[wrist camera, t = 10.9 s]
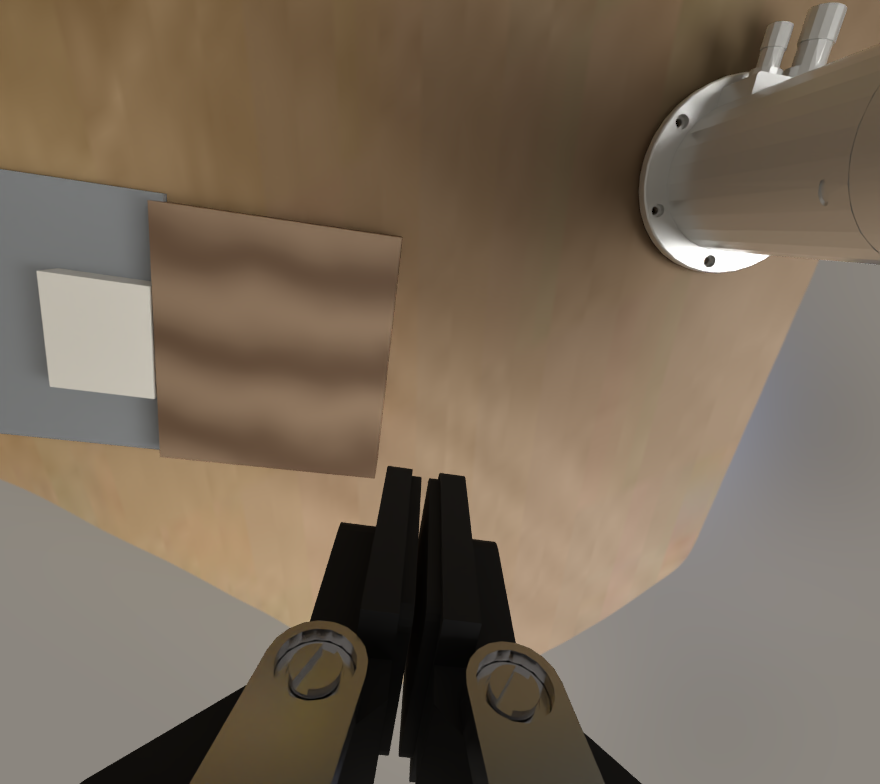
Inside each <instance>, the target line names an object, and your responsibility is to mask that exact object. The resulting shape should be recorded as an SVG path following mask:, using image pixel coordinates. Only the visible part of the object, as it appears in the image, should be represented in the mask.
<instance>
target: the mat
mask: <svg viewBox="0 0 880 784" xmlns="http://www.w3.org/2000/svg"><path fill="white" fill-rule="evenodd" d="M147 200H151V201H162V202H167V194H163V193H156V192H150V191H143V190H136V189H130V188H123V187H116V186H110V185H103V184H96V183H90V182H83V181H77V180H70V179H63V178H57V177H50V176H43V175H37V174H30V173H24V172H17V171H10V170H4V169H0V433H2V434H12V435H21V436H31V437H41V438H51V439H61V440H70V441H80V442H90V443H100V444H110V445H119V446H129V447H139V448H149V449H159V450H160V446H159V426H158V405H157V397H156V398H155V399H149V398H141V397H133V396H124V395H116V394H107V393H99V392H90V391H82V390H73V389H65V388H57V387H50V384H49V376H48V367H47V358H46V350H45V341H44V332H43V324H42V315H41V306H40V298H39V289H38V280H37V272H36V271H38V270H47V269H55V268H61V269H68V270H75V271H82V272H89V273H96V274H103V275H110V276H117V277H124V278H131V279H138V280H146V281H151V262H150V242H149V221H148V201H147Z"/></svg>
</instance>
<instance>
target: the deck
mask: <svg viewBox="0 0 880 784" xmlns="http://www.w3.org/2000/svg"><path fill="white" fill-rule="evenodd" d="M147 201H148V221H149V242H150V262H151V283H152V303H153V324H154V344H155V365H156V385H157V405H158V426H159V446H160V457H167V458H176V459H186V460H196V461H206V462H216V463H226V464H236V465H246V466H256V467H266V468H276V469H286V470H296V471H306V472H316V473H326V474H336V475H346V476H355V477H365V478H375V473H376V466H377V459H378V450H379V441H380V432H381V423H382V414H383V405H384V397H385V388H386V379H387V370H388V361H389V352H390V344H391V335H392V326H393V317H394V308H395V299H396V290H397V282H398V273H399V264H400V255H401V246H402V237H398V236H392V235H385V234H378V233H372V232H365V231H358V230H351V229H345V228H338V227H331V226H325V225H318V224H311V223H304V222H298V221H291V220H284V219H278V218H271V217H264V216H258V215H251V214H244V213H237V212H231V211H224V210H217V209H211V208H204V207H197V206H191V205H184V204H177V203H170V202H162V201H151V200H147Z"/></svg>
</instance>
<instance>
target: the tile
mask: <svg viewBox="0 0 880 784" xmlns="http://www.w3.org/2000/svg"><path fill="white" fill-rule="evenodd" d="M36 272H37V280H38V289H39V298H40V306H41V315H42V324H43V332H44V341H45V350H46V358H47V367H48V376H49V384H50V387H57V388H65V389H73V390H82V391H90V392H99V393H107V394H116V395H124V396H133V397H141V398H149V399H155V398H156V397H157V385H156V365H155V344H154V324H153V303H152V283H151V281H146V280H138V279H131V278H124V277H117V276H110V275H103V274H96V273H89V272H82V271H75V270H68V269H61V268H55V269H47V270H38V271H36Z"/></svg>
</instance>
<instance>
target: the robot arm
mask: <svg viewBox="0 0 880 784" xmlns="http://www.w3.org/2000/svg"><path fill="white" fill-rule="evenodd" d="M846 10H847V7H846V5H844V4H841V3H824V4H819V5H817V6H814V7H812V8H811V9H809V10H808V12H807V15H806V18H805V21H804V24H803V28H802V31H801V34H800V37H799V40H798V43H797V47H798V48H797V51H796V54H795V57H794V60H793V63H792V67H791V68H788V69H786V70H784V71H783V69H780V68H779V67H780V64H781V61H782V57H783V54H784V51H786V49H787V46H788V43H789V39H790V36H791V33H792V30H793V27H794V24H793V23H791V22H789V21H778V22H774V23H771V24H769V25H768V26H767V28H766V32H765V35H764V38H763V42H762V45H761V48H760V55H759V59H758V62H757V65H756V68H754V69H752V70H750V72H743V73H738V74H733V75H728V76H725V77H723V78H720V79H718V80H716V81H713V82H711V83H709V84H707V85H705V86H703V87H702V88H700V89H698V90H696V91H694V92H693V93H692V94H690V95H689V96H688V97H687V98H685V99H684V100H683V101H682V102H680V103H679V104H678V105H677V106H676V107H675V108H674V109H673V110H672V112H671V113H670V114H669V115H668V116H667V117H666V118H665V119H664V121H663V122H662V124H661V125H660V127H659V129H658V130H657V132H656V133H655V135H654V136H653V138H652V141H651V143H650V145H649V148H648V150H647V152H646V154H645V158H644V161H643V165H642V169H641V173H640V182H639V203H640V212H641V216H642V219H643V223H644V226H645V229H646V230H647V232H648V234H649V236H650V238H651V240H652V242H653V243H654V244H655V245H656V247H657V248H658V249H659V250H660V251H661V253H662V254H664V255H665V256H666V257H668V258H669V259H670V260H671V261H673V262H674V263H676V264H678V265H681V266H683V267H685V268H687V269H691V270H696V271H700V272H708V273H726V272H734V271H738V270H741V269H744V268H748V267H750V266H752V265H755V264H757V263H759V262H761V261H763V260H765V259H766V258H768V257H769V256H770V255H771V256H782V257H794V258H805V259H817V260H830V261H841V262H852V263H864V264H876V265H880V44H878V45H875V46H872V47H870V48H867V49H865V50H862V51H860V52H857V53H854V54H852V55H849V56H847V57H844V58H842V59H839V60H836V61H834V62H831V63H829V64H826V63H827V60H828V57H829V54H830V51H831V48H832V46H833V45H834V44H835V42H836V39H837V36H838V33H839V31H840V28H841V25H842V22H843V19H844V16H845V13H846ZM676 121H678V127H677V126H676ZM653 207H654V208H655V213H654V214H652V209H653ZM704 259H705V262H704ZM412 470H413V469H407V468H400V467H392V466H388V467H387V472H386V477H385V483H384V488H383V493H382V498H381V504H380V509H379V514H378V519H377V525H376V527H374V526H366V525H359V524H351V523H343V522H341V524H340V526H339V529H338V532H337V535H336V538H335V542H334V545H333V548H332V551H331V555H330V558H329V561H328V564H327V568H326V571H325V574H324V577H323V581H322V584H321V587H320V590H319V593H318V597H317V600H316V603H315V606H314V610H313V613H312V616H311V619H310V622H304V623H302V624H299V625H296V626H294V627H291V628H289V629H288V630H286V631H285V632H284V633H282V634H281V635H279V636H278V637H277V638H276V639H275V640H274V641H273V643H272V644H271V645H270V646H269V648H268V649H267V651H266V652H265V654H264V656H263V657H262V659H261V661H260V663H259V665H258V666H257V668H256V670H255V671H254V673H253V675H252V676H251V678H250V680H249V682H248V683H247V685H246V686H244V687H242V688H240V689H239V690H237V691H235V692H234V693H232V694H230V695H229V696H227V697H225V698H223V699H222V700H220V701H218V702H217V703H215V704H213V705H212V706H210V707H208V708H207V709H205V710H203V711H201V712H200V713H198V714H196V715H195V716H193V717H191V718H189V719H188V720H186V721H184V722H183V723H181V724H179V725H177V726H176V727H174V728H173V729H171V730H169V731H167V732H166V733H164V734H162V735H160V736H159V737H157V738H155V739H154V740H152V741H150V742H149V743H147V744H145V745H143V746H142V747H140V748H138V749H137V750H135V751H133V752H131V753H130V754H128V755H126V756H125V757H123V758H121V759H120V760H118V761H116V762H115V763H113V764H111V765H109V766H108V767H106V768H104V769H103V770H101V771H99V772H97V773H96V774H94V775H92V776H91V777H89V778H87V779H86V780H84V781H83V782H81V783H80V784H373V783H374V778H375V772H376V766H377V760H378V755H389V751H390V746H391V740H392V735H393V729H394V724H395V719H396V713H397V708H398V702H399V697H400V691H401V685H402V680H403V675H404V682H403V697H402V711H401V727H400V741H399V757H407V758H410V777H409V781H410V782H416V783H415V784H641V783H640V782H639V781H638V780H637V779H636V778H635V777H633V776H632V775H631V774H630V773H629V772H628V771H627V770H626V769H624V768H623V767H622V766H621V765H620V764H619V763H618V762H617V761H615V760H614V759H613V758H612V757H611V756H610V755H609V754H607V753H606V752H605V751H604V750H603V749H602V748H601V747H600V746H598V745H597V744H596V743H595V742H594V741H593V740H592V739H590V738H589V737H588V736H587V735H586V734H585V733H584V732H583V731H582V728H581V726H580V724H579V721H578V719H577V716H576V714H575V712H574V710H573V707H572V705H571V702H570V700H569V698H568V695H567V693H566V691H565V688H564V686H563V683H562V681H561V680H560V678H559V676H558V675H557V673H556V671H555V669H554V668H553V667H552V666H551V665H550V664H549V663H548V662H547V661H546V660H545V659H544V658H543V657H542V656H541V655H539V654H538V653H536V652H535V651H533V650H532V649H530V648H527V647H525V646H522V645H520V644H517V643H516V642H515V637H514V632H513V626H512V621H511V616H510V610H509V605H508V600H507V594H506V589H505V584H504V578H503V573H502V568H501V562H500V557H499V552H498V547H497V544H496V543H495V542H491V541H483V540H476V539H472V533H471V524H470V515H469V506H468V497H467V489H466V480H465V476H458V475H451V474H444V473H440V474H439V477H438V479H431V478H429V481H428V486H427V492H426V498H425V503H424V509H423V515H422V521H421V526H420V532H419V517H420V498H421V477H416V476H412ZM418 535H419V538H418Z"/></svg>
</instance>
